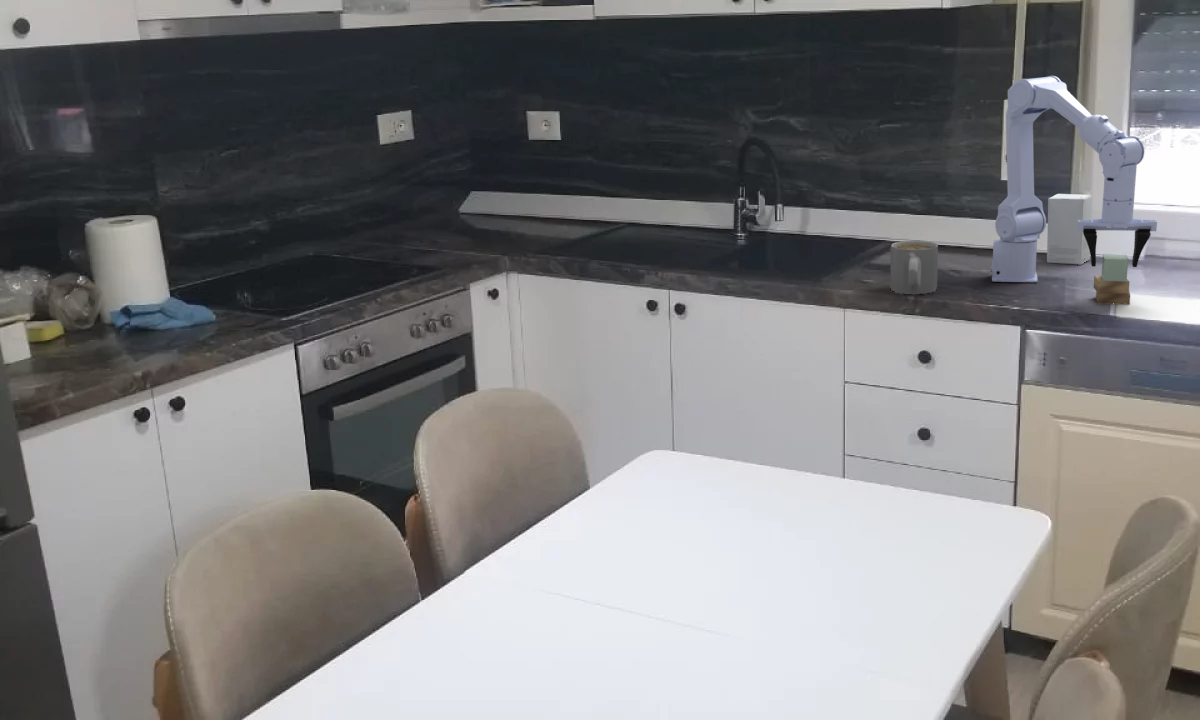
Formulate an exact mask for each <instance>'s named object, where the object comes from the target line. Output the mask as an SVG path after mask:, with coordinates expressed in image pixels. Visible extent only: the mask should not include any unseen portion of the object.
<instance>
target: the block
mask: <svg viewBox="0 0 1200 720" xmlns="http://www.w3.org/2000/svg"><path fill="white" fill-rule="evenodd" d="M1128 267H1129V258H1128V255H1127V254H1102V265H1101V274H1100V276H1102V280H1103V281H1123V282H1126V281H1127V280H1128V278H1127V277H1128V270H1129V269H1128Z"/></svg>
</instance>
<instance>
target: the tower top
mask: <svg viewBox="0 0 1200 720" xmlns="http://www.w3.org/2000/svg"><path fill="white" fill-rule="evenodd" d="M1093 289H1094V290H1095V291H1097V292H1098V293H1099V294H1129V292H1130V281H1129V279H1127V281H1126V282H1123V281H1103V280H1102V276H1101V275H1093Z"/></svg>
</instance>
